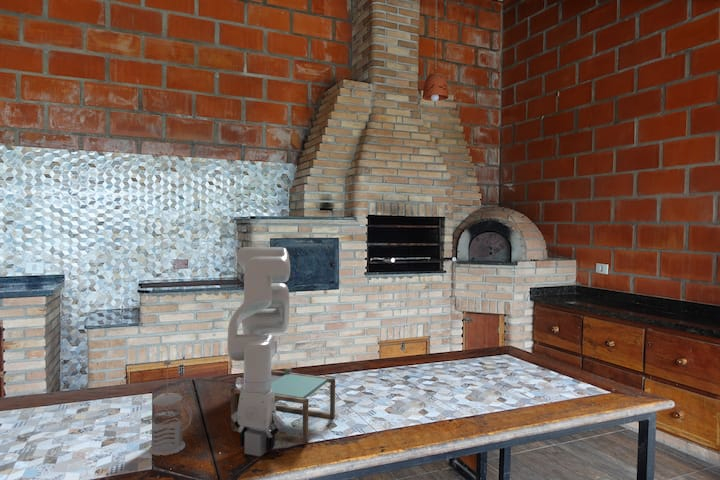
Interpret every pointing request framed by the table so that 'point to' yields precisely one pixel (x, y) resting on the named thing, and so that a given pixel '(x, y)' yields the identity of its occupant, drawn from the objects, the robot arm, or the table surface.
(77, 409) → the table surface
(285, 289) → the robot arm
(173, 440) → the french press
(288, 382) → the hatch door
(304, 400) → the stand
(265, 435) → the smooth gray block
